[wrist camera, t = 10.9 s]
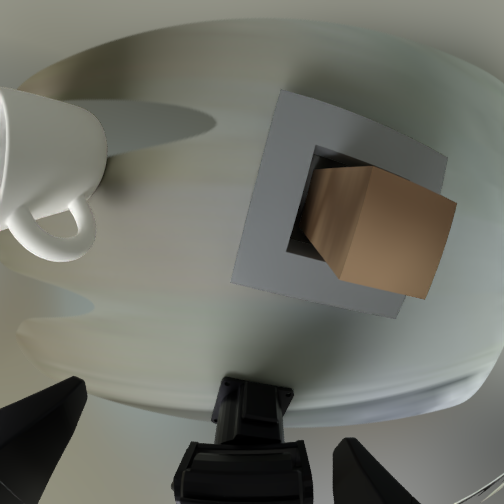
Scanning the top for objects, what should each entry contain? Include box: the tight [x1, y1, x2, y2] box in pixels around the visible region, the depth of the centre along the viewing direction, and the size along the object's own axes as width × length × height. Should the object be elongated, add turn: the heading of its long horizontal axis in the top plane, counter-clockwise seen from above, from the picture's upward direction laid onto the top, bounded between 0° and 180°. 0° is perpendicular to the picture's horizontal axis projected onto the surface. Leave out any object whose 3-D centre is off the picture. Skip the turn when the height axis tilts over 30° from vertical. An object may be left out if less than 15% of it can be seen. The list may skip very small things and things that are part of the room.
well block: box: [230, 89, 448, 319], centre depth 16 cm, size 11×11×4 cm
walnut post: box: [299, 166, 457, 299], centre depth 14 cm, size 4×4×10 cm
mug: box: [0, 87, 107, 262], centre depth 13 cm, size 12×8×10 cm
